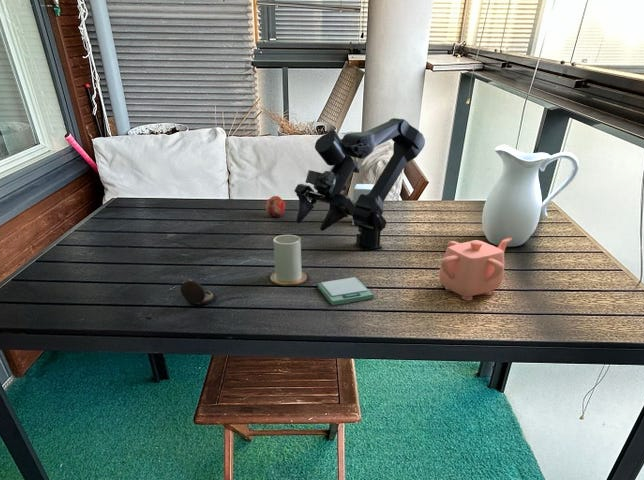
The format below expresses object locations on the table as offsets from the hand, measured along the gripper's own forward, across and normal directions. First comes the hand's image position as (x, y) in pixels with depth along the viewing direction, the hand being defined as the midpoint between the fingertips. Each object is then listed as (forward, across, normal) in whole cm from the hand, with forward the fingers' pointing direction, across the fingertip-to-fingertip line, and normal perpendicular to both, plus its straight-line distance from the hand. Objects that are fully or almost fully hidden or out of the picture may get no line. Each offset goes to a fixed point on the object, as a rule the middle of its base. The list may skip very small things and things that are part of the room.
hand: (309, 226), depth 131 cm
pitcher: (-35, +32, +53) cm, 70 cm away
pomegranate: (-10, -45, +28) cm, 54 cm away
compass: (+33, -6, -15) cm, 36 cm away
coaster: (+15, 0, +3) cm, 15 cm away
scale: (+12, +17, +6) cm, 22 cm away
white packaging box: (-21, -16, +39) cm, 47 cm away
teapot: (-5, +40, +23) cm, 46 cm away
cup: (+14, 0, +3) cm, 14 cm away
